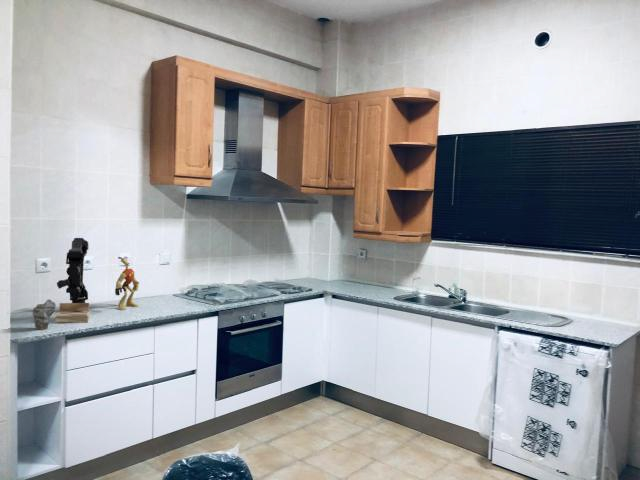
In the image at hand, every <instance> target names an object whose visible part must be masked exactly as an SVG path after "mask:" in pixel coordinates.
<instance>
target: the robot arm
mask: <svg viewBox="0 0 640 480" xmlns="http://www.w3.org/2000/svg"><path fill="white" fill-rule="evenodd" d="M89 249H90V247H89V241H87V240H85V238H84V237H75V238H73V240H71V248H70V249H69V250H68V252H67V253H66V259H65V264H66V265H68V267H67V268H66V275H67V276H68V277H67V278H66V279H60V280H58V281H57V282H56V286H57V288H58V289H62V288H65V287H67V288H66V289H65V292H66V294H69V301H71V303H86V301H87V300H89V292H88V290H87V289H86V288H87V287H86V286H85V284H84V265H85V263H84V261H85V257H86V256H87V254H88V251H89ZM74 312H81V311H74Z"/></svg>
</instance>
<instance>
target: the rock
mask: <svg viewBox="0 0 640 480" xmlns="http://www.w3.org/2000/svg"><path fill="white" fill-rule="evenodd" d="M56 305H57V304H56V302H55V301H54V302H53V300H52V299H47V300H46V301H45V302H44V303H39V304H37V305H36V307H33V309H32V316H33V320H34V327H35V329H36V330H45V329H48V327H49V324H50V319H51V316H52V315H53V314H54V312H55V309H56Z"/></svg>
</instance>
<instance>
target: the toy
mask: <svg viewBox="0 0 640 480" xmlns="http://www.w3.org/2000/svg"><path fill="white" fill-rule="evenodd" d="M117 259H118V260H119V259H120V262H121V263H122V264H123V265H124V266H125V269H124V270H123V271H122V272H121V273H120V276H119V277H118V278H117V281H116V283H115V289H114V290H115V291H114V293H115V296H120V294H122V292H124V295H123V296H122V298H121V299H120V300H119V302H118V305H117V308H118V310H120V311H122V310H123V311H124V310H127V307H134V308H135V307H140V305H139V304H137V303H135V302H134V301H133V298H134V295H135V292H137V291H139V287H140V282H139V281H138V280H137V279H136V277H135V275H136V272H135V271H134V269H133V268H129V265H130V263H129V262H128V260H127V259H126V257H121V256H118V257H117ZM122 282H123V284H122ZM130 284H132V285H133V287H131V286H130ZM128 291H129V292H130V294H129V295H128ZM127 296H128V297H127ZM125 302H126V303H125Z"/></svg>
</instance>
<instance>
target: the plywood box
mask: <svg viewBox="0 0 640 480" xmlns="http://www.w3.org/2000/svg"><path fill="white" fill-rule="evenodd" d="M90 313H91V312H90V311H80V312H75V311H59V312H57V314H56V315H55V321H54V324H81V323H83V324H85V323H89V321H90V317H91V316H90Z"/></svg>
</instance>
